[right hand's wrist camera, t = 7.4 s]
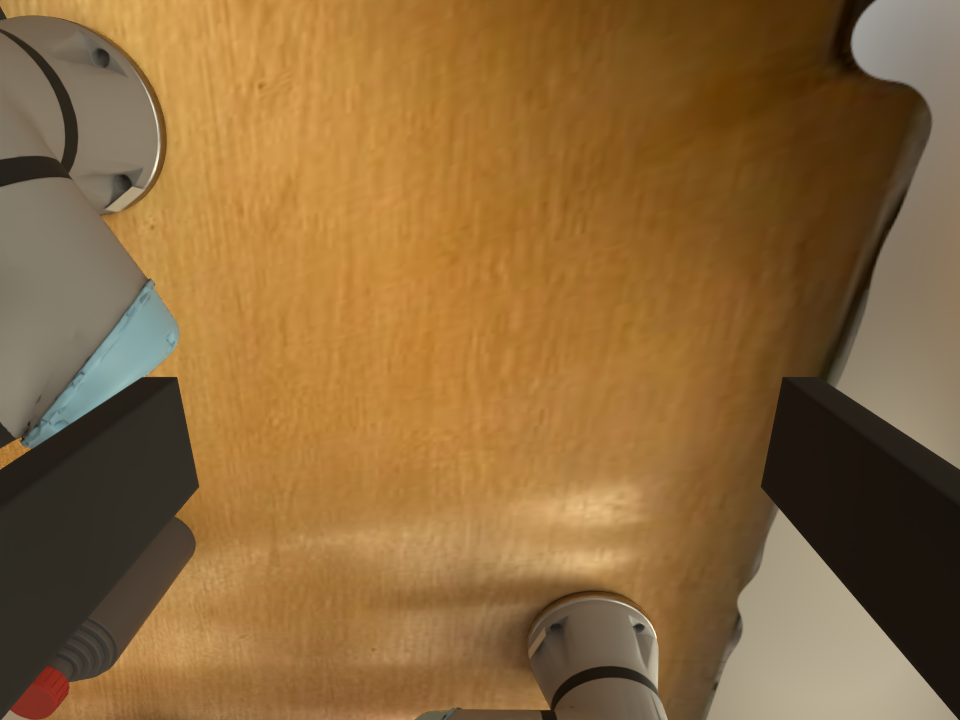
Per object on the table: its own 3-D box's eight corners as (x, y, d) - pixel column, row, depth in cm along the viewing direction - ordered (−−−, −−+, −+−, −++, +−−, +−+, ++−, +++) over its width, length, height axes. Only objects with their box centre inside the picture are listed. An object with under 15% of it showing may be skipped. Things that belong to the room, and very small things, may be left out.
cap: (71, 703, 46) (57, 723, 45) (21, 696, 46) (4, 716, 45) (69, 668, 45) (54, 687, 43) (16, 660, 45) (-1, 679, 43)
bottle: (194, 571, 64) (82, 735, 46) (129, 560, 63) (-11, 722, 45) (196, 518, 61) (77, 670, 43) (128, 507, 61) (-20, 656, 43)
